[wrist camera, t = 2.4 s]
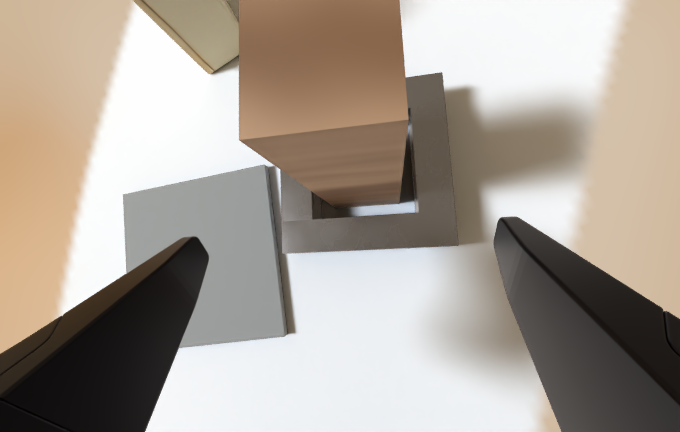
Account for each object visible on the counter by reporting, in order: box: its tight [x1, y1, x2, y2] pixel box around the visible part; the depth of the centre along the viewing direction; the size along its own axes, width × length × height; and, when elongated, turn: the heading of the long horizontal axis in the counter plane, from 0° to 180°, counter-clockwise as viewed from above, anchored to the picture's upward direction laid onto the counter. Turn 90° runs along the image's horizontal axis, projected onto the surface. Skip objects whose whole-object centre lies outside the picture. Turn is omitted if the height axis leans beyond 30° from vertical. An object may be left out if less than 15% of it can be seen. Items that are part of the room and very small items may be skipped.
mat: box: [123, 165, 288, 348], centre depth 22 cm, size 12×12×1 cm
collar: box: [281, 73, 458, 254], centre depth 19 cm, size 10×10×2 cm
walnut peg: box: [239, 0, 409, 208], centre depth 14 cm, size 4×4×13 cm
